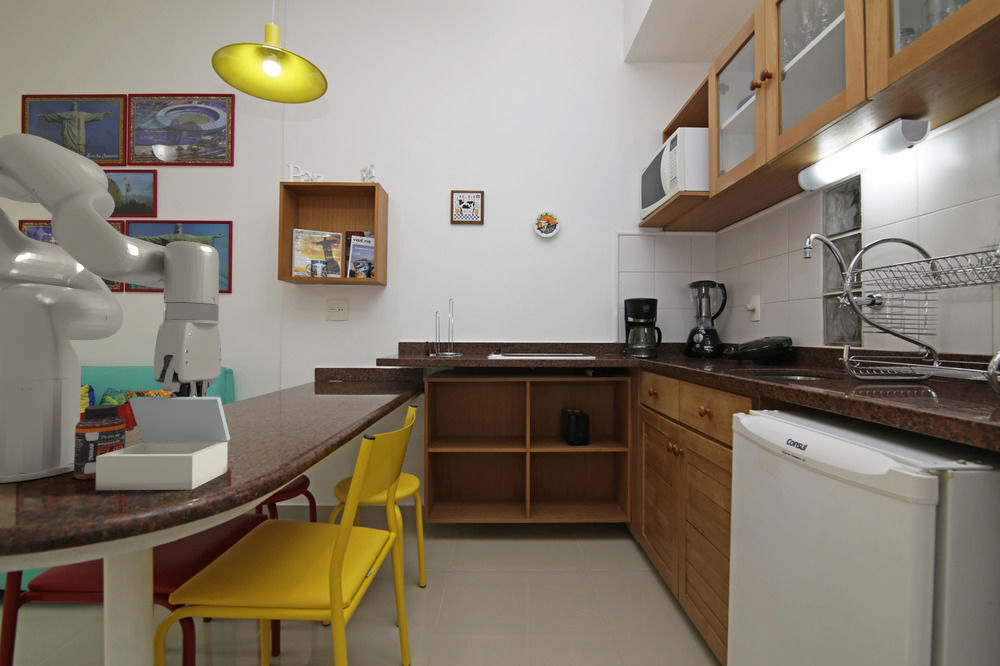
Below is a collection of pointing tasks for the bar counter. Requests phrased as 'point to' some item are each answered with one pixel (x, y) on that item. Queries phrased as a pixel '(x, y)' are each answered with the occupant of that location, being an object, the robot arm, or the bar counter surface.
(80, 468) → the supplement bottle
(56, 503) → the bar counter surface
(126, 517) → the bar counter surface
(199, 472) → the white hinged box
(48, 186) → the robot arm
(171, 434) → the cover
